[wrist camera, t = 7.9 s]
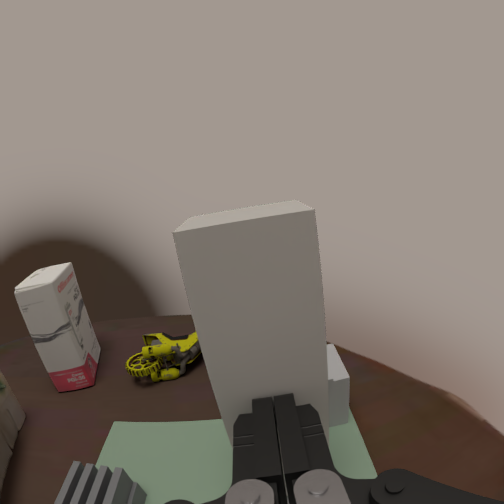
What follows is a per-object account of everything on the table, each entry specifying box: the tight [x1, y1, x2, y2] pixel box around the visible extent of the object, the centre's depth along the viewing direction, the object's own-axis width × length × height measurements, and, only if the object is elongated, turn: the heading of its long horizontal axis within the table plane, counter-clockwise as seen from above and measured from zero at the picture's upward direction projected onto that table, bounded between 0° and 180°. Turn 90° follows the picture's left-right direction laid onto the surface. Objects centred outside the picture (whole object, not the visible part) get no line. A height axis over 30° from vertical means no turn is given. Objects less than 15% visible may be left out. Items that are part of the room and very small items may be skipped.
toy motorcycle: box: [125, 330, 202, 382], centre depth 29 cm, size 12×4×7 cm
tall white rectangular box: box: [173, 200, 329, 496], centre depth 14 cm, size 8×4×14 cm, turn 2°
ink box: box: [14, 262, 101, 392], centre depth 28 cm, size 9×5×12 cm, turn 19°
